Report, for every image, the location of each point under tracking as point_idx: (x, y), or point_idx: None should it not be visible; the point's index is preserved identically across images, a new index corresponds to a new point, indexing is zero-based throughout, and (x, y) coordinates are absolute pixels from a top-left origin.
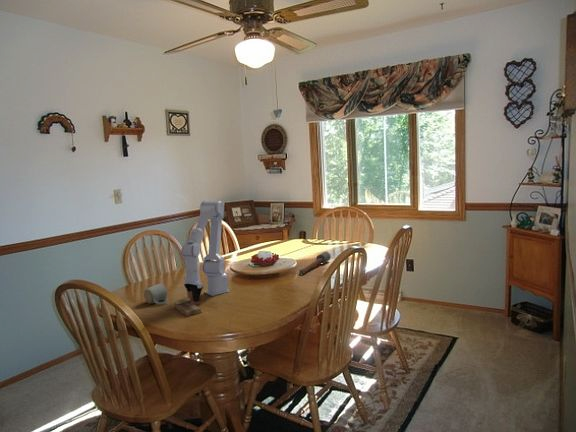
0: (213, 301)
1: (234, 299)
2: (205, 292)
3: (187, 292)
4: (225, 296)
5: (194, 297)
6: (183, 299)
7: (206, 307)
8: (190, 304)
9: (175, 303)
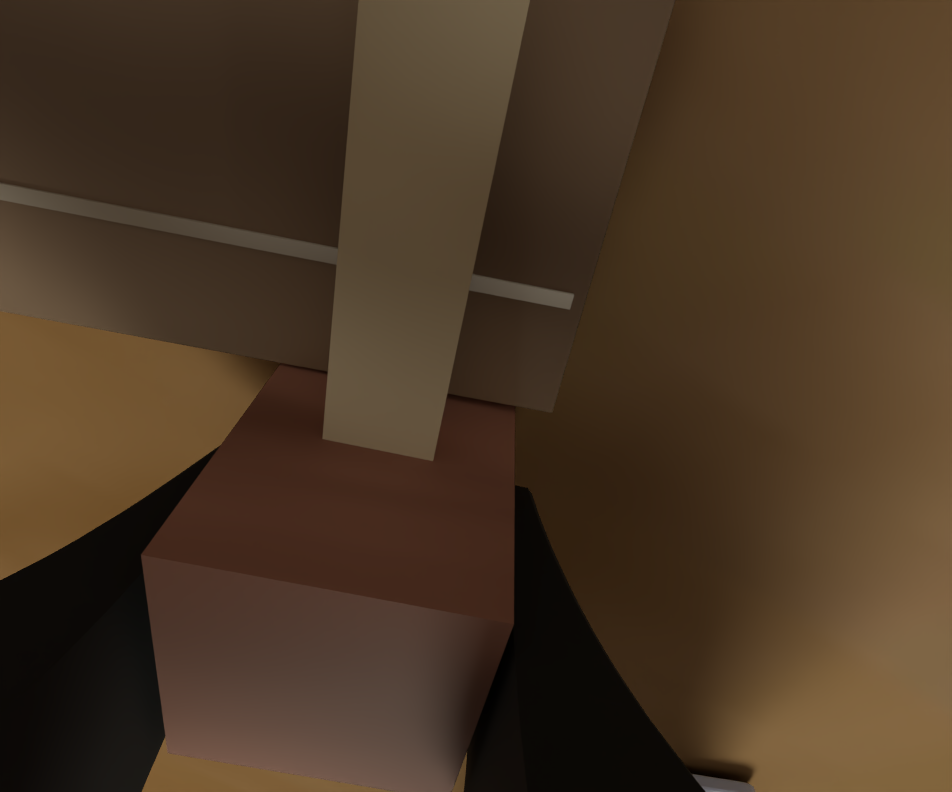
0: None
1: (160, 773)
2: (716, 781)
3: (492, 594)
4: (351, 788)
5: (134, 505)
6: (415, 275)
7: (79, 456)
8: (178, 281)
9: (648, 32)
